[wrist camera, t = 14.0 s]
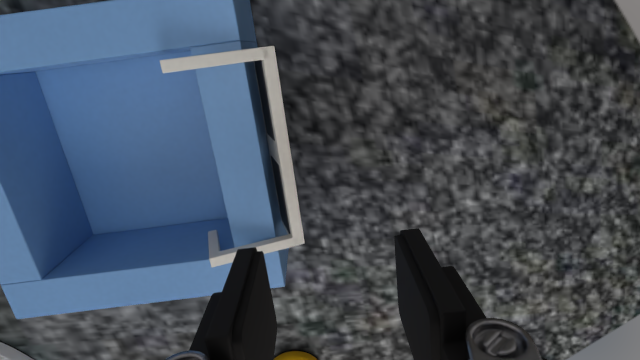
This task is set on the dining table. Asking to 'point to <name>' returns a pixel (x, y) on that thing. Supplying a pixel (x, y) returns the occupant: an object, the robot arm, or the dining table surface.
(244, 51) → the white sunglasses
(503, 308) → the dining table surface
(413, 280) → the robot arm
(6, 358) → the plate stack
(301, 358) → the yellow winged triple ring
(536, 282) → the dining table surface
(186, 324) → the dining table surface
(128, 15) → the bin
